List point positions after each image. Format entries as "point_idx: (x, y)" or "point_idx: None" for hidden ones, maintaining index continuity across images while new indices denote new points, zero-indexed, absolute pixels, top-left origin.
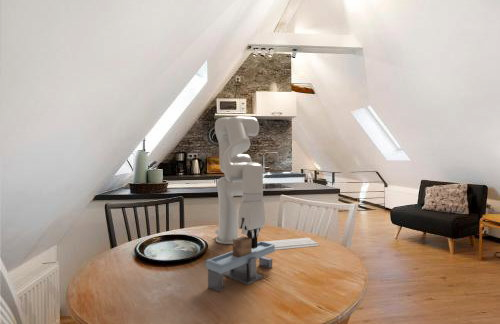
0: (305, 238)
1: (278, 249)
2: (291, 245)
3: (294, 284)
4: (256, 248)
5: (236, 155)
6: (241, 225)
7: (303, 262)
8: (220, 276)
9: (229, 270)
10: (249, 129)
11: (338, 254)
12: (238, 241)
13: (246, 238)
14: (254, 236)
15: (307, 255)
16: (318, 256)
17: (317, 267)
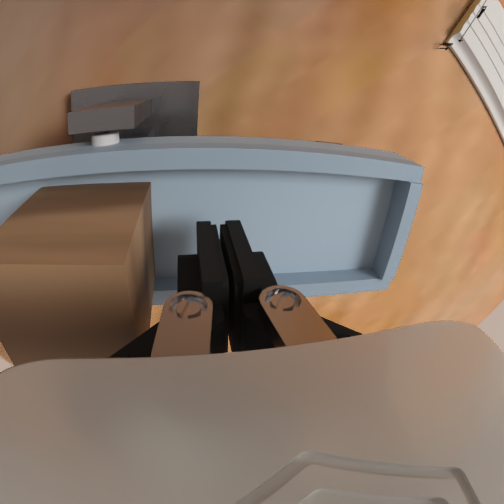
0: None
1: (496, 125)
2: None
3: (231, 351)
4: (303, 204)
5: None
6: (66, 397)
7: (421, 268)
8: None
9: (117, 87)
10: None
11: (488, 296)
12: (2, 331)
13: (99, 352)
14: (242, 343)
15: (475, 242)
16: (472, 270)
17: (395, 319)
